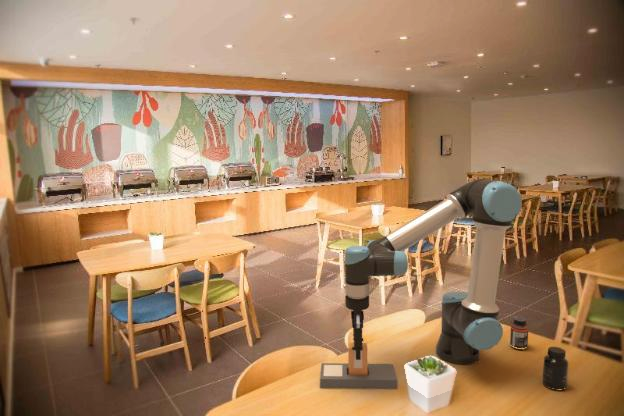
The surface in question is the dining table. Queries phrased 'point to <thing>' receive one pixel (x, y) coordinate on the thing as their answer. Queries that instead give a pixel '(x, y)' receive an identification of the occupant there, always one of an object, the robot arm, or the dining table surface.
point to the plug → (351, 360)
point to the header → (358, 377)
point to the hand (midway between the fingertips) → (357, 364)
